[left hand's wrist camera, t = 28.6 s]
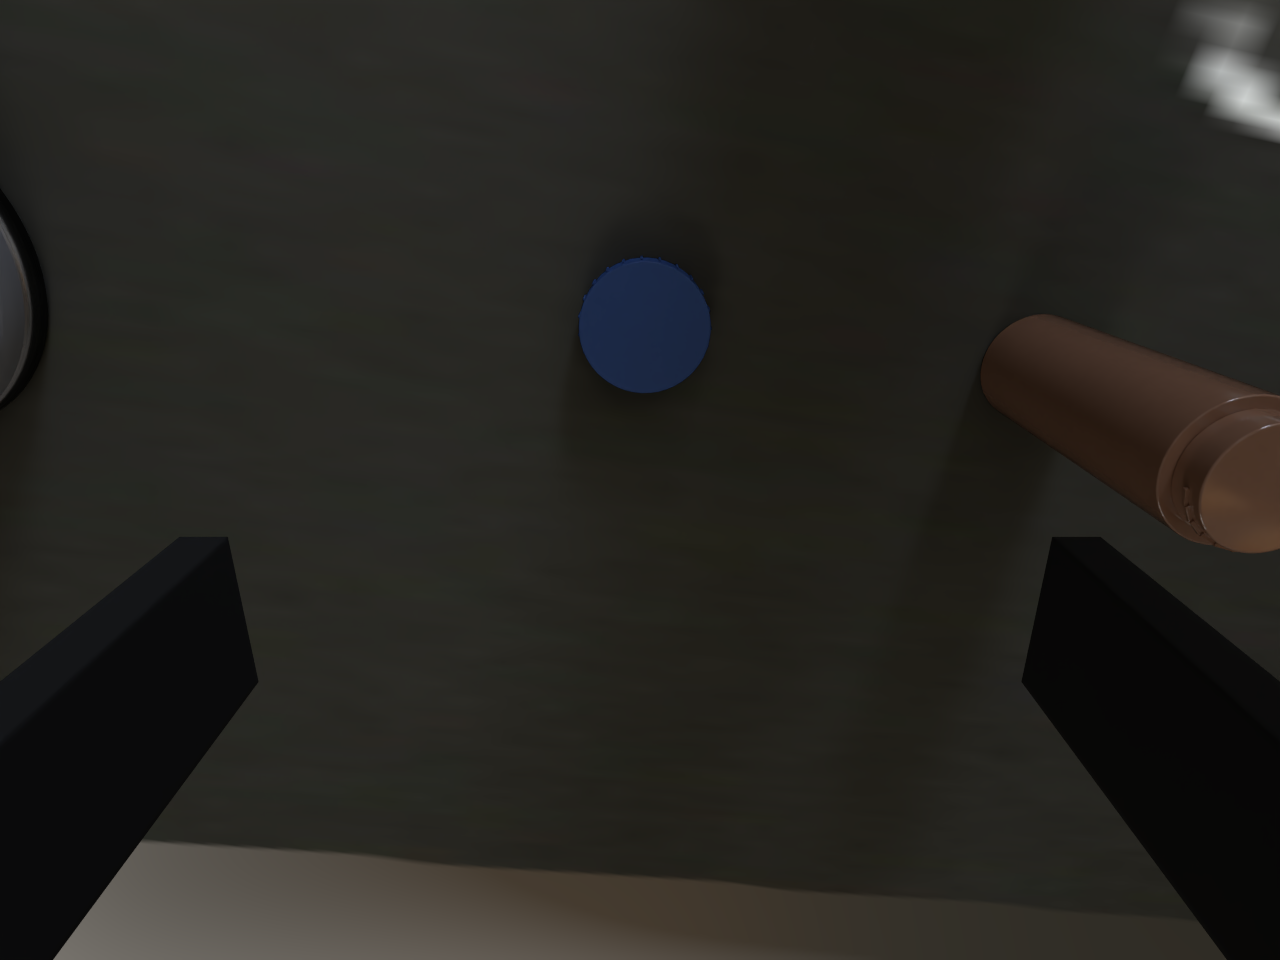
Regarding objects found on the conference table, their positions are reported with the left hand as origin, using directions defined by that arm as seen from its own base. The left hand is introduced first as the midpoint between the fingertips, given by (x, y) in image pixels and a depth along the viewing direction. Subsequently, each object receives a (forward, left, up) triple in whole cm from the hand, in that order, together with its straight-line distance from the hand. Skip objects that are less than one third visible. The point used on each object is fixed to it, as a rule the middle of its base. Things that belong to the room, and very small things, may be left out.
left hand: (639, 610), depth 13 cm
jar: (+14, +12, -26) cm, 32 cm away
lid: (0, 0, -25) cm, 25 cm away
